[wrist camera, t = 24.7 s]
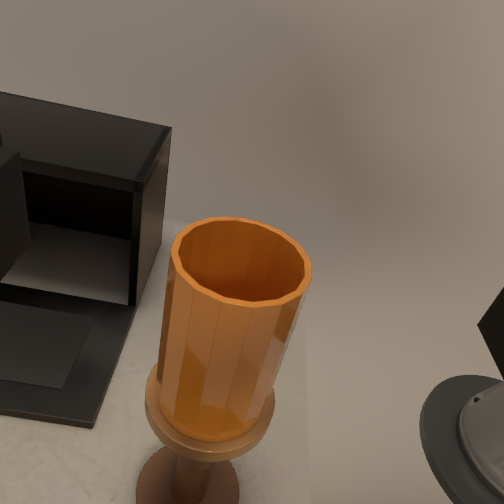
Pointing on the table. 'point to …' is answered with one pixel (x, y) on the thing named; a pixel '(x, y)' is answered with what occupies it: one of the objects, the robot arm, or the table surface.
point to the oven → (84, 219)
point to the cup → (227, 324)
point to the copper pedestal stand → (193, 460)
